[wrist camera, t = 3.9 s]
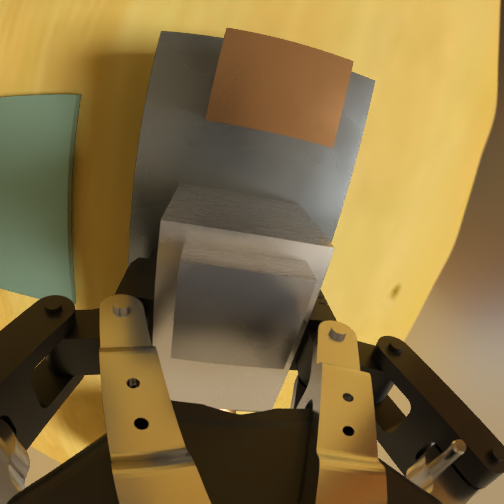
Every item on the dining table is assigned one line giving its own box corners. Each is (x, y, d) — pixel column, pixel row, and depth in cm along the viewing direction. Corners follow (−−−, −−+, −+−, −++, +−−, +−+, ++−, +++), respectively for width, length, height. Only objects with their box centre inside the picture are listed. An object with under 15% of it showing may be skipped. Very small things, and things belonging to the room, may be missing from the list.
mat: (-36, 101, 11) (-42, 102, 11) (81, 94, 13) (76, 94, 13) (-27, 275, 17) (-31, 279, 16) (76, 301, 18) (73, 306, 18)
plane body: (178, 54, 13) (136, -2, 5) (331, 87, 14) (430, 75, 7) (145, 342, 20) (122, 448, 12) (258, 356, 22) (275, 461, 14)
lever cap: (180, 183, 11) (152, 235, 6) (299, 204, 12) (347, 265, 7) (164, 333, 14) (149, 422, 9) (259, 345, 15) (274, 432, 10)
